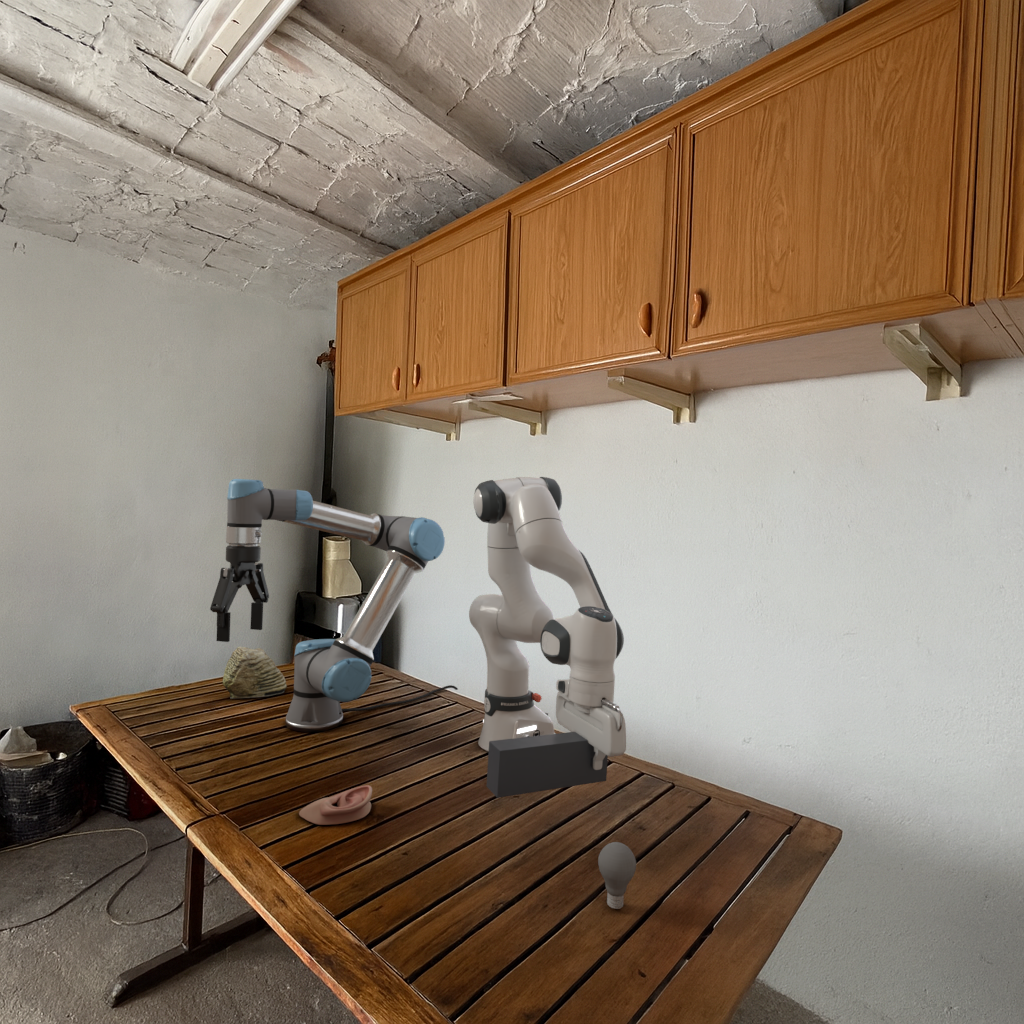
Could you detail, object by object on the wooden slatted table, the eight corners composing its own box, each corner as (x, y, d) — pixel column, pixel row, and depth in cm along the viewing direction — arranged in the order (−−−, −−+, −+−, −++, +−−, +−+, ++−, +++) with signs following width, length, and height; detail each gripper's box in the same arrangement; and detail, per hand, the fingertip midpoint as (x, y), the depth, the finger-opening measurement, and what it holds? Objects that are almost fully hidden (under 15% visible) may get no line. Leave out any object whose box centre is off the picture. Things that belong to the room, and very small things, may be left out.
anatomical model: (291, 800, 123) (320, 775, 134) (290, 820, 123) (320, 794, 134) (354, 810, 120) (379, 784, 132) (353, 830, 121) (378, 803, 132)
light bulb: (592, 894, 104) (595, 834, 104) (628, 894, 104) (631, 834, 104) (600, 919, 98) (603, 855, 98) (638, 918, 99) (641, 855, 98)
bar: (497, 798, 113) (500, 750, 113) (486, 786, 117) (489, 741, 117) (606, 781, 123) (609, 737, 123) (592, 771, 127) (595, 729, 127)
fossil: (218, 695, 195) (220, 647, 195) (278, 685, 208) (279, 640, 207) (228, 703, 189) (230, 653, 188) (289, 692, 201) (290, 645, 201)
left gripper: (226, 549, 136) (223, 648, 136) (285, 542, 160) (282, 626, 161) (194, 547, 137) (191, 645, 137) (257, 541, 161) (254, 623, 162)
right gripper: (636, 706, 116) (632, 781, 116) (578, 677, 134) (574, 741, 134) (608, 709, 113) (603, 786, 113) (552, 678, 132) (548, 745, 132)
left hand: (240, 635), depth 149 cm, fingers open, 13 cm apart
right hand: (587, 761), depth 124 cm, fingers closed on bar, 5 cm apart
